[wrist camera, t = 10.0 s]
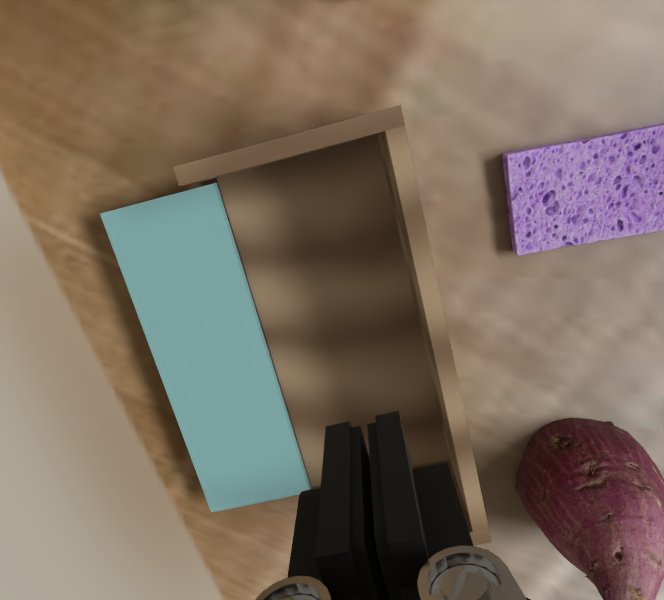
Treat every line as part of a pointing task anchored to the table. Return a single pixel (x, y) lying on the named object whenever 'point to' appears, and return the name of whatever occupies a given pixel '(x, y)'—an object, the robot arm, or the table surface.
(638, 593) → the vegetable
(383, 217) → the tray
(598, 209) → the sponges
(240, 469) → the panel
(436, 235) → the table surface
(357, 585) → the robot arm
